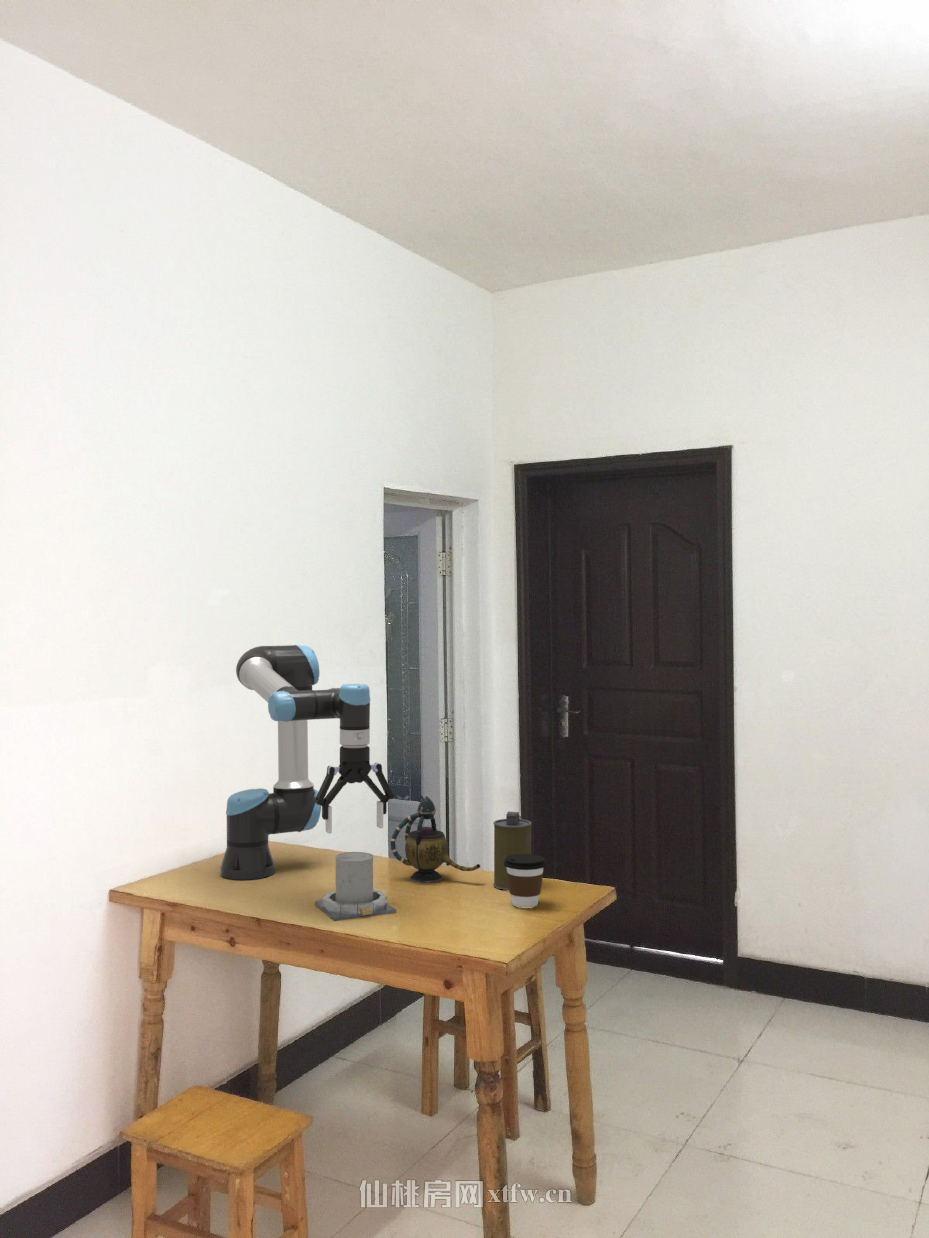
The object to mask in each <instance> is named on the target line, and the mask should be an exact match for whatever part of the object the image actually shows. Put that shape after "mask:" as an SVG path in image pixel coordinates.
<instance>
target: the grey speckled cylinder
mask: <svg viewBox="0 0 929 1238" xmlns="http://www.w3.org/2000/svg"><path fill="white" fill-rule="evenodd" d="M334 859H335V891H336V902H340V903H353V904H358V903H365V902H371V901H373V889H374V854H373V853H370V852H365V851H363V852H362V851H349V852H347V851H346V852H342V853H338V854H337V855H335V857H334Z"/></svg>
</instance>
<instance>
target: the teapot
mask: <svg viewBox="0 0 929 1238" xmlns="http://www.w3.org/2000/svg"><path fill="white" fill-rule="evenodd" d="M420 798H421V800H420V802H419V804H418V807H417V811H416V813H413V814H410V815H408V816H406V817H405V818H404V819H403V820H402V821H400V823H399V824H398V826H397V827H396V828H395V829H394V831H393V833H392V835H391V839H390V848H391V852H392V854H393V856H394V858H395V859H396V860H398V861H399V862H400V863H402V864H404V865H405V866H408V867H413V868H414V869H416V871H415V872H414V873H413V874H412V875H411V876H410V877H409V878H410V881H411V882H413V883H418V884H434V883H439V882H441V881H442V880H443V879H444V878H443V875H441V873H439V872H438V871H436V869H438V868H440V867H441V866H442V865H443V864H447V865H450V866H451V867H453V868H455V869H457V870H459V871H461V872H473V871H475V870H479V869H481V864H479V863H477V864H476V865H474V866H470V867H469V866H463V865H460V864H458V863H456V862H454V861H453V859H451V858H450V856H449V855H448V853H449V852H448V851H449V846H448V845H449V844H448V839H447V838H446V835H445V833H444V832H443V831H441V830H437V829H438V828H437V824H436V818H435V814H436V806H435V804H434V802H433V801H432V799H431V798H430V797H428V796H427V795H426V796H423V795H420ZM417 819H418V824H417V826H416V827H417V828H416V830H412V831H411V829H412V826H413V823H414V822H415V821H416V820H417ZM424 820H430V823H431V824H430V826H423V823H424ZM405 826H406V827H405ZM404 827H405V830H404V839H405V840H404V841H405V844H404V852H405V857H406V858H405V857H402V856H401V855H400V854H399V852H398V850H397V846H396V840H397V837H398V835H399V834H400V832H401V831H402V829H403V828H404Z"/></svg>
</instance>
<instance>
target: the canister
mask: <svg viewBox="0 0 929 1238" xmlns="http://www.w3.org/2000/svg"><path fill="white" fill-rule="evenodd" d="M505 816H506V818H502V819H497V820H494V821H493V825H494V827H493V828H494V829H493V830H494V833H493V837H494V839H493V840H494V841H493V845H494V846H493V847H494V848H493V849H494V851H493V855H494V856H493V862H494V863H493V866H494V867H493V869H494V871H493V877H494V878H493V887H494V888H495V887H496V888H495V889H497V888H498V889H497V890H500V889H503V890H502V891H506V890H509V885H508V879H507V868H506V866H504V861H505V859H506V857H508V856H510V855H515V854H532V825H533V824H532V821H530V820H528V819H523V818H522V817H521V815H520V811H507V813H506V815H505Z"/></svg>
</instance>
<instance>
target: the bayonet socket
mask: <svg viewBox="0 0 929 1238" xmlns="http://www.w3.org/2000/svg"><path fill="white" fill-rule="evenodd" d="M387 898H388V897H387V894H386V893H385V892H383V891H382V890H379V889H374V888H373V901H371V902H365V903H358V904H353V903H340V902H336V890H334V891H330V892H326V893H325V894H324V896H323V897H322V899H321V900H320V899H319V900H314V905H315V906H316V907H317V908H319V909H320V910H321V911H322V912H323V913H325V914H326V915H327V916H328V917H329V918H330V919H332V920H333V921H334V922H336V921H344V920H351V919H353V920H354V919H358V918H359V919H360V918H367V917H375V916H380V915H389V914H396V913H397V909H396V908H395V907H394V906H392V905H390V904H389V903H388V902H387Z"/></svg>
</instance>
